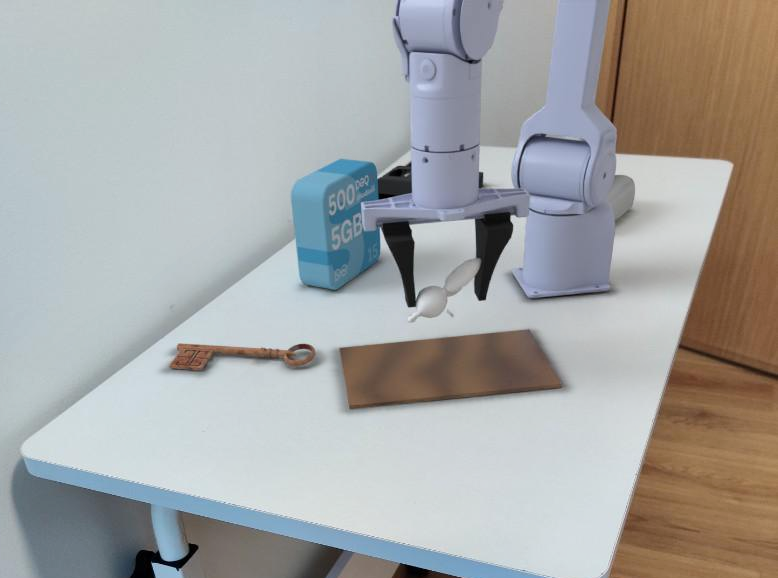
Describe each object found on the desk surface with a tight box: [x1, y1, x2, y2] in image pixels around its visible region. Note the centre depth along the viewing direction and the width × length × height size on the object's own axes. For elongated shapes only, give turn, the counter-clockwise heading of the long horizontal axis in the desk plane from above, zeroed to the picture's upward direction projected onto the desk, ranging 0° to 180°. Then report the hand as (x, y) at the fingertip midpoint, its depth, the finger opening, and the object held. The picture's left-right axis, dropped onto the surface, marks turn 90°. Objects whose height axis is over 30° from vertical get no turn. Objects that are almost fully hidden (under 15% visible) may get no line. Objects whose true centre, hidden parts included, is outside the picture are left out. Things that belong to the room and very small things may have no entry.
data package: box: [290, 158, 382, 291], centre depth 99 cm, size 12×4×12 cm, turn 150°
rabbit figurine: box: [407, 257, 482, 323], centre depth 78 cm, size 6×4×8 cm
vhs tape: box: [377, 165, 484, 196], centre depth 126 cm, size 14×8×2 cm, turn 65°
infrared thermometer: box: [604, 174, 636, 221], centre depth 114 cm, size 5×12×15 cm
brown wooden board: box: [338, 328, 563, 410], centre depth 82 cm, size 20×12×1 cm, turn 96°
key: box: [168, 342, 316, 371], centre depth 86 cm, size 6×1×15 cm
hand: (444, 299), depth 78 cm, fingers closed on rabbit figurine, 6 cm apart
